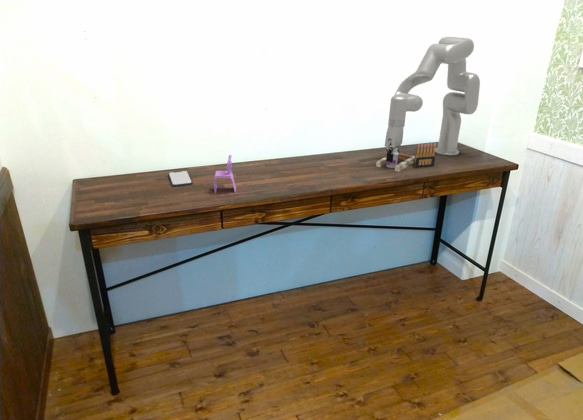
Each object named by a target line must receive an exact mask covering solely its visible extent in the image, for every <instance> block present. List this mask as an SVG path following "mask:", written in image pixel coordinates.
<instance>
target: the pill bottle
mask: <svg viewBox="0 0 583 420" xmlns="http://www.w3.org/2000/svg"><path fill="white" fill-rule="evenodd" d="M390 147H392V146H390ZM390 149H391V148H390ZM391 150H392V149H391ZM397 150H398V147H395V148H394V151H393V154H394V155H393V162H389V161H387V162H386V164H385V165H386V167H387V168H389V169H395V166H396V165H398V164H399V163H398V162H399V159H398V156H399V153H400V152H399V153H398V151H397Z"/></svg>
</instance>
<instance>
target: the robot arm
mask: <svg viewBox="0 0 583 420" xmlns="http://www.w3.org/2000/svg"><path fill="white" fill-rule="evenodd" d="M474 48H475V44H474V41H473V40H472V39H471V38H468V37H457V36H444V37H441V38H440V39H439V40H438V43H434V44H431V45H429V47H428V48H427V50H426V52H425V54H424V55H423V57H422V60H421V62H420V63H419V65H418V67H417V69H416V71H414V72H413V73H412V74H410V75H409V76H408V77H406V78H405V79H404V80H403V81H401V83H400V84H399V85H398V87H397V89H396V91H395V93H394V95H392V97H391V98H390V103H389V114H388V123H387V130H386V132H385V134H386V135H385V138H384V139H385V141H384V147H385V150H386V156H387V157H386V156H385V157H386V161H389V162H393V155H394V154H393V151H394V148H395V147H398V150H397V151H398V153H400V150H401V146H402V144H403V138H404V127H405V124H406V123H405V122H406V115H407V112H418V111H420V110H421V109H422V107H423V104H424V102H423V99H422V97H420V96H419V95H416V94H411V93H410V92H411V90H412V89H414V88H415V87H417V86H419V85H422V84H425V83H427V82H430V81H433V79H434V77H435V75H436V73H437V71H438V70H439V68H440V65H441V64H444V65H447V76H446V77H447V79H446V86H447V88H448V89H449V90H451V91H453V92H447V93H446V94H445V95H444V97H443V99H442V119H441V126H440V132H439V138H438V139H439V140H438V146H437V147H435V154H438V155H443V156H457V155H459V154H460V151H459V149H457V148H458V141H459V137H460V130H461V126H462V125H461V124H462V117H461V114H462V115H463V114H464V115H473V114H474V113H475V112H476V111H477V108H478V105H479V100H480V99H479V98H480V97H479V96H480V87H481V86H480V85H481V81H480V77H479V76H478V74H477V73H474V72H468V71H467V58H468V57H470V56H471V55H472V53H473V52H474ZM461 92H462V93H461ZM391 146H392V147H391ZM390 148H391V149H392V150H391V149H390ZM398 158H399V156H398Z"/></svg>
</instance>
